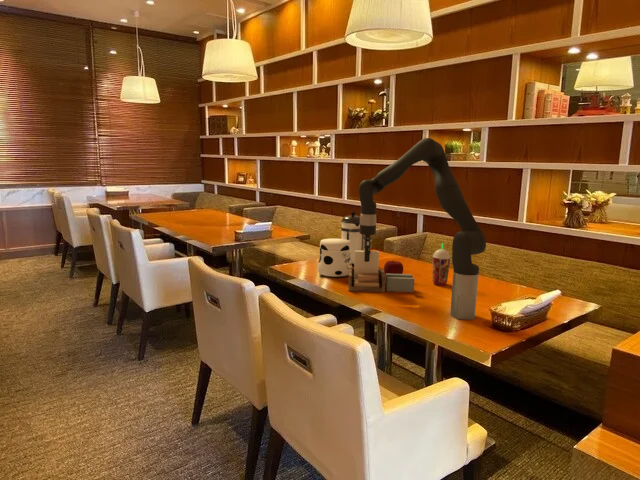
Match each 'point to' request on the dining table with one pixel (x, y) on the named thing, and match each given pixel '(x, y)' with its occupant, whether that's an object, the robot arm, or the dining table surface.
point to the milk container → (334, 258)
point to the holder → (399, 282)
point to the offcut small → (367, 277)
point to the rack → (367, 289)
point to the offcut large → (365, 284)
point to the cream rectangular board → (366, 263)
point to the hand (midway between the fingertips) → (366, 260)
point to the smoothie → (441, 266)
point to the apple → (393, 267)
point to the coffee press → (352, 233)
